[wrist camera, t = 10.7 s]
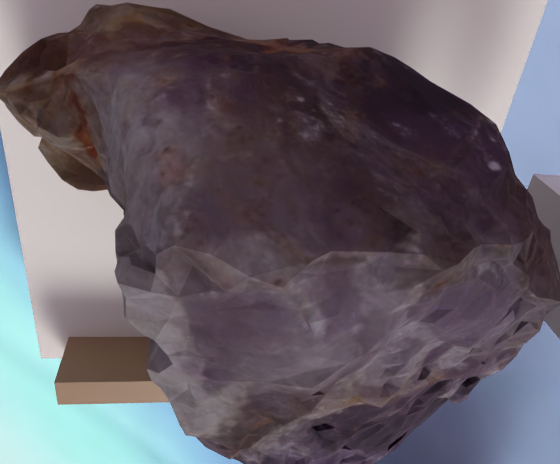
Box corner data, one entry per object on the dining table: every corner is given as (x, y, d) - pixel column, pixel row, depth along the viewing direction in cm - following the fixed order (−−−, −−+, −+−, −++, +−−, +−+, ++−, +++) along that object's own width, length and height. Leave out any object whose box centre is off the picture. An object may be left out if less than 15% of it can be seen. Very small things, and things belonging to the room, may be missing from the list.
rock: (210, 320, 20) (466, 217, 18) (230, 580, 13) (625, 455, 12) (-28, 45, 12) (385, -172, 10) (-251, 358, 6) (718, -84, 4)
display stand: (61, 302, 20) (24, 405, 16) (-12, -228, 12) (-127, -296, 8) (397, 305, 23) (440, 396, 19) (531, -139, 14) (665, -156, 10)
